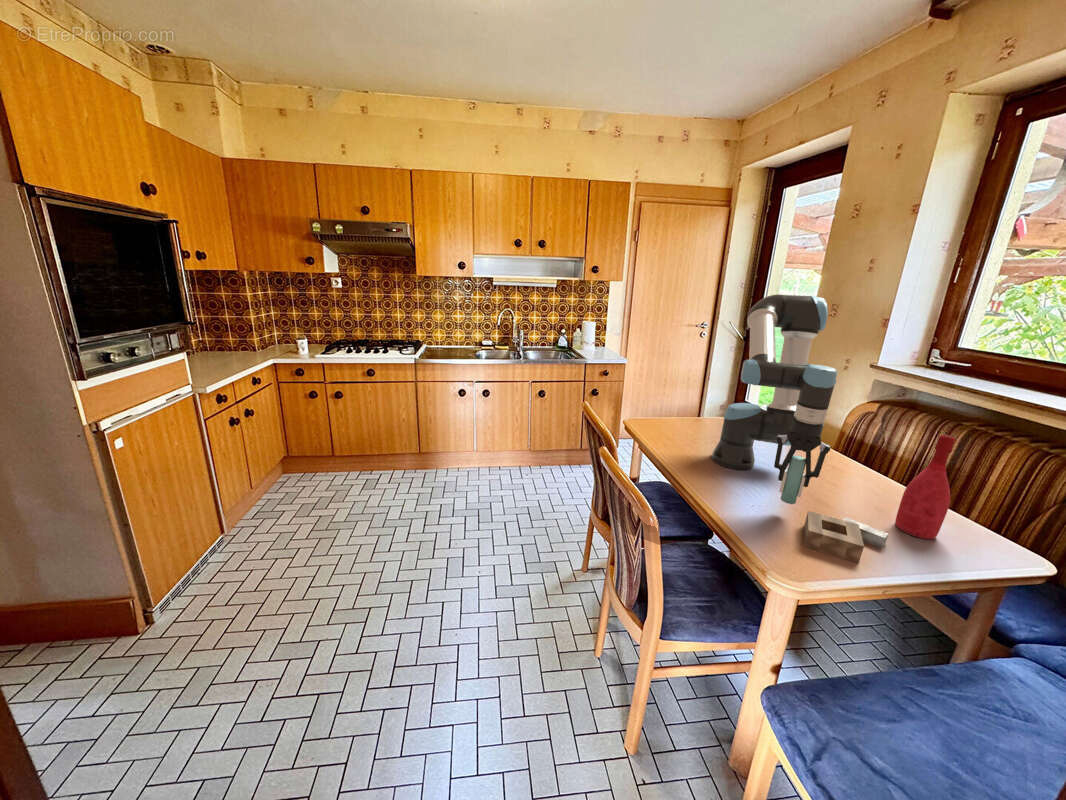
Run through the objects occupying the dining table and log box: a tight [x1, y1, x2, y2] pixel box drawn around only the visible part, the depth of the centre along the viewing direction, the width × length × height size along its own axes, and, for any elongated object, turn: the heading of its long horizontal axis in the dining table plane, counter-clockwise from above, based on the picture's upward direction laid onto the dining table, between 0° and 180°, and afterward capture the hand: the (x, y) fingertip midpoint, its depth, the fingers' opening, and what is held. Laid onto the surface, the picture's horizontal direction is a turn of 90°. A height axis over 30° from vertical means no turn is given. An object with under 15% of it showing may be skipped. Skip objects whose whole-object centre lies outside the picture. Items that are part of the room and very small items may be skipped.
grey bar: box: [843, 516, 889, 550], centre depth 120 cm, size 10×4×4 cm, turn 39°
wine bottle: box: [894, 434, 956, 540], centre depth 121 cm, size 10×10×30 cm
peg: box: [780, 455, 806, 505], centre depth 126 cm, size 4×4×14 cm
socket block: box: [803, 510, 865, 564], centre depth 116 cm, size 12×12×5 cm
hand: (790, 492), depth 128 cm, fingers closed on peg, 4 cm apart
